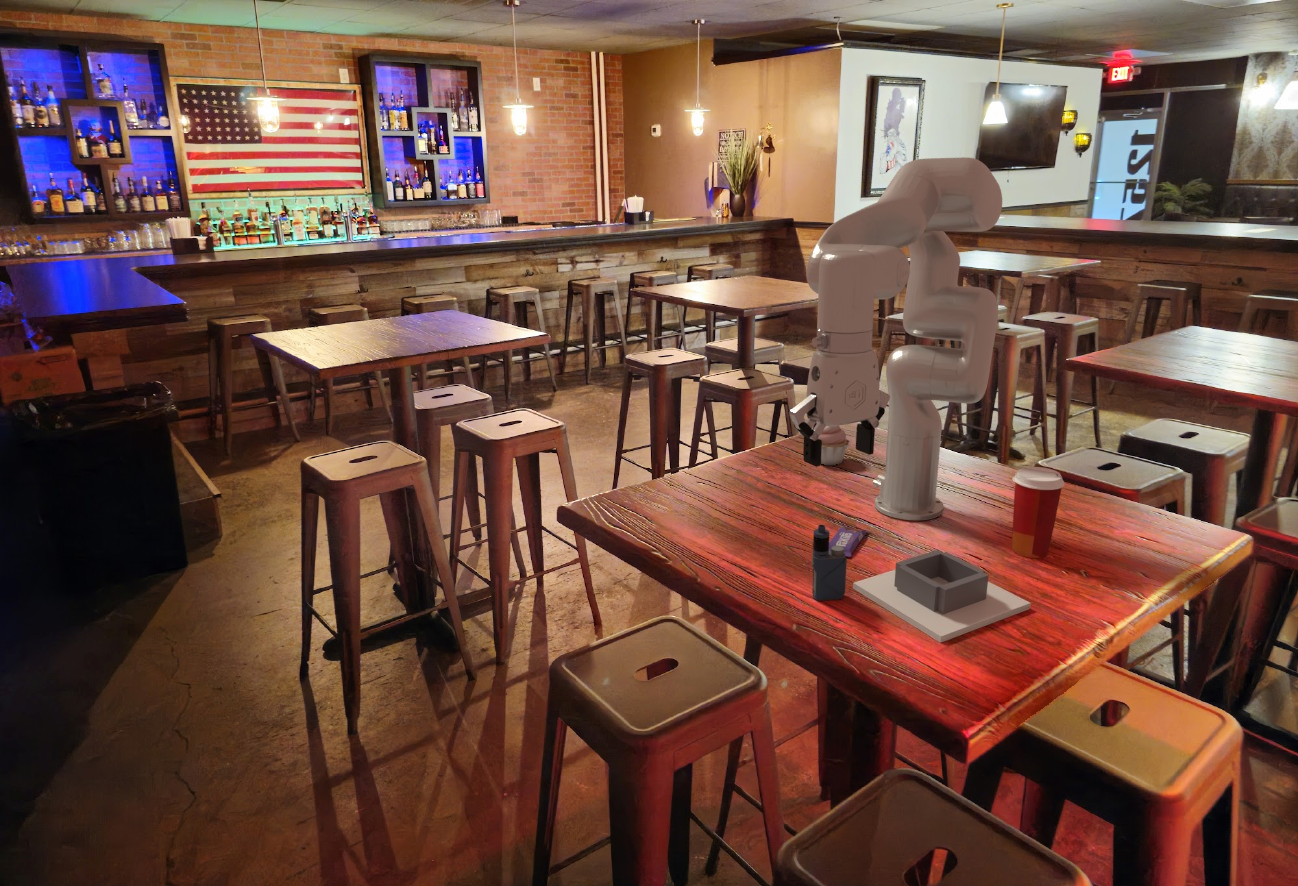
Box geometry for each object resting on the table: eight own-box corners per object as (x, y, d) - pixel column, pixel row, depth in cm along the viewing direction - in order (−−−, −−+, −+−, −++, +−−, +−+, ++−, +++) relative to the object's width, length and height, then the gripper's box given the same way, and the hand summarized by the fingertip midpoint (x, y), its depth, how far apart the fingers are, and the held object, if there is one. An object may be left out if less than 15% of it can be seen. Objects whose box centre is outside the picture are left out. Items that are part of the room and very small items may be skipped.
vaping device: (808, 593, 128) (811, 523, 124) (841, 591, 128) (845, 520, 125) (813, 601, 126) (815, 530, 122) (847, 599, 126) (850, 527, 122)
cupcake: (804, 454, 189) (806, 412, 186) (846, 454, 188) (848, 412, 185) (808, 468, 180) (809, 424, 177) (851, 468, 179) (853, 424, 176)
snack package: (850, 551, 138) (821, 546, 141) (850, 562, 139) (821, 556, 141) (868, 525, 148) (841, 521, 150) (868, 535, 148) (841, 531, 151)
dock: (853, 588, 129) (854, 559, 127) (937, 561, 137) (939, 534, 135) (940, 642, 114) (943, 610, 112) (1029, 609, 122) (1033, 578, 120)
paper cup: (1052, 543, 142) (1062, 467, 137) (1057, 563, 135) (1068, 484, 130) (1003, 538, 144) (1011, 463, 140) (1005, 557, 137) (1014, 479, 133)
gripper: (811, 353, 108) (807, 476, 113) (910, 339, 115) (901, 454, 120) (777, 344, 114) (774, 461, 119) (873, 331, 121) (866, 441, 127)
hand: (838, 457), depth 120 cm, fingers open, 9 cm apart
